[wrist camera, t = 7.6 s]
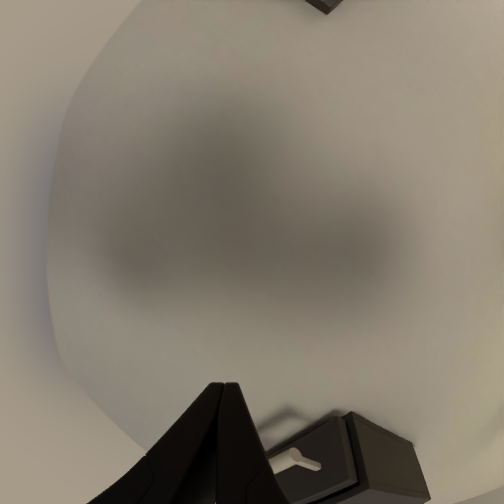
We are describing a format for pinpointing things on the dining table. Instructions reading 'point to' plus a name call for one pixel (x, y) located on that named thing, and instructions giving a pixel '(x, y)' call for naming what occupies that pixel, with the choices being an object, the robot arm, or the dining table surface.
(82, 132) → the dining table surface
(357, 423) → the small storage cabinet
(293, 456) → the drawer
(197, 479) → the robot arm
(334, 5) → the control block
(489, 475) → the dining table surface
